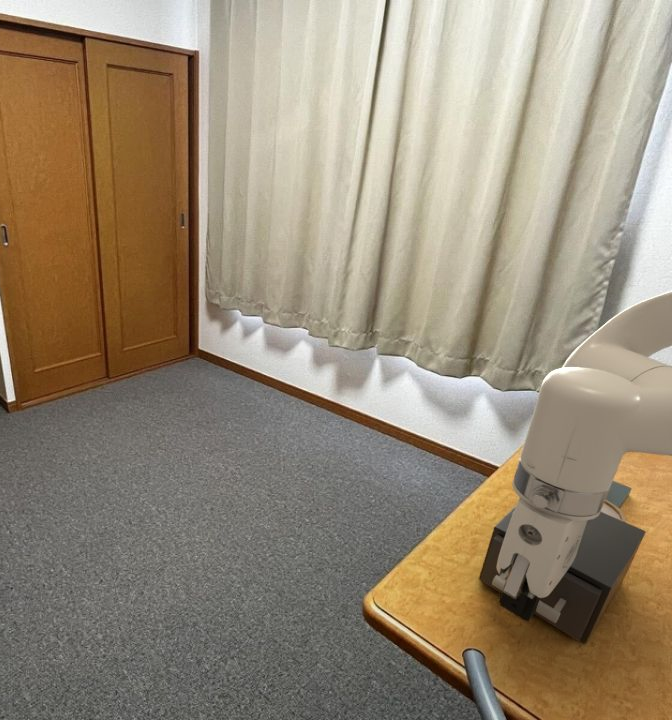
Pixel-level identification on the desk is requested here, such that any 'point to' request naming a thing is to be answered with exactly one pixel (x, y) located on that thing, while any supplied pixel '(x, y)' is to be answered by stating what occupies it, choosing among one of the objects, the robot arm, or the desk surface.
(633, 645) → the desk surface
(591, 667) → the desk surface
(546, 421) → the robot arm
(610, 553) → the cabinet
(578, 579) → the drawer
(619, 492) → the panel
